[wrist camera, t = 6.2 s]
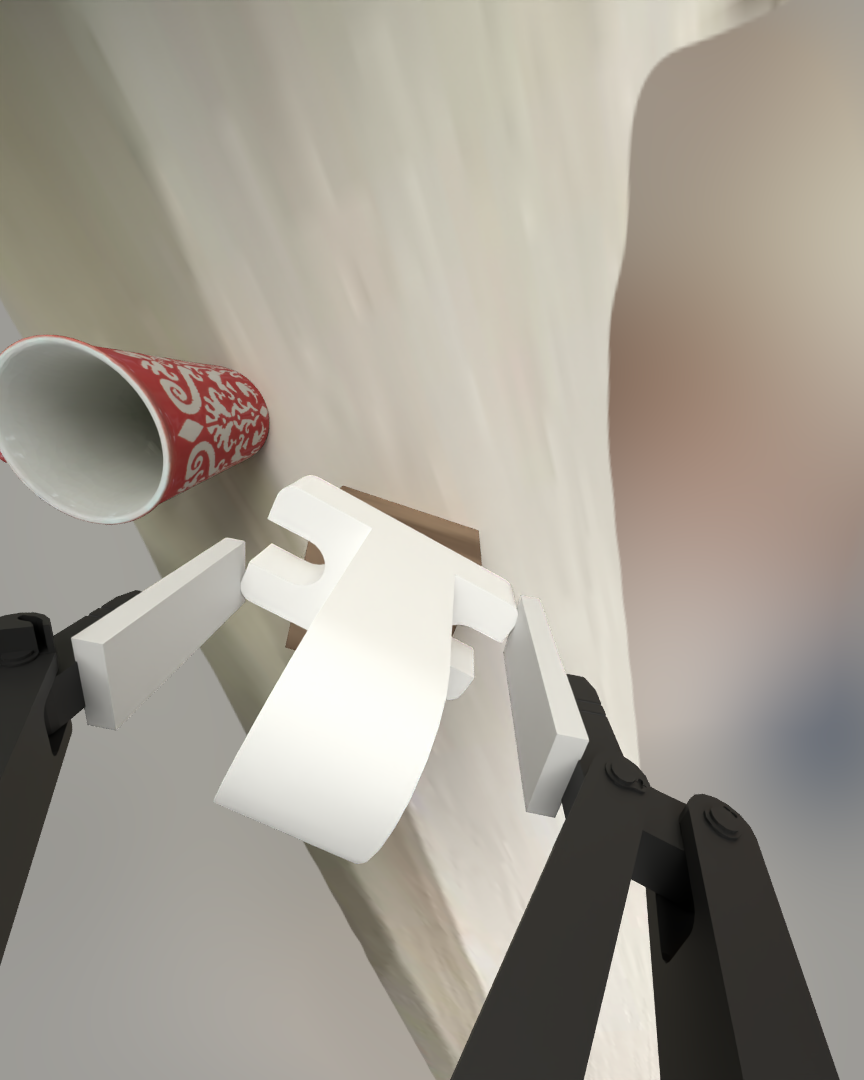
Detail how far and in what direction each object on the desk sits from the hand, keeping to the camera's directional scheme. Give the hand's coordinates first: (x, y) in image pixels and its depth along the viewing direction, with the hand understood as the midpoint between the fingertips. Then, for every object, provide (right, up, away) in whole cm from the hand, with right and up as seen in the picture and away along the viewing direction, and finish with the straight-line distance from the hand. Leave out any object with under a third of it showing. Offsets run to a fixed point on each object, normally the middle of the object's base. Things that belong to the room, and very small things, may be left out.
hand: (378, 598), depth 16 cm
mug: (-16, +12, +17) cm, 26 cm away
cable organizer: (0, +1, +2) cm, 2 cm away
